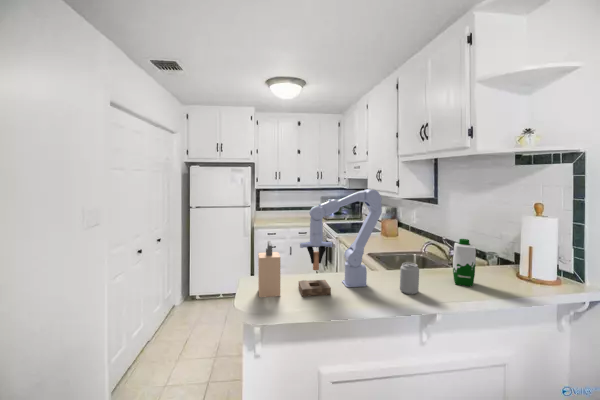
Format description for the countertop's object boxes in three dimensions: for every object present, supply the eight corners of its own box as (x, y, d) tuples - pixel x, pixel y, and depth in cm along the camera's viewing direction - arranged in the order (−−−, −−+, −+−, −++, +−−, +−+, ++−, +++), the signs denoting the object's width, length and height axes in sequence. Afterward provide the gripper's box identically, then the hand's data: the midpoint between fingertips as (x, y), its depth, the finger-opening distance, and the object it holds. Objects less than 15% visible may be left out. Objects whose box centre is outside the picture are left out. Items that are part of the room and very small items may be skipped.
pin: (318, 268, 137) (318, 251, 136) (319, 270, 134) (319, 252, 133) (312, 268, 136) (312, 251, 136) (313, 270, 133) (313, 252, 133)
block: (325, 286, 133) (325, 279, 133) (330, 295, 123) (330, 288, 123) (298, 287, 131) (298, 281, 131) (302, 296, 121) (302, 289, 121)
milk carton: (472, 281, 140) (474, 239, 139) (475, 288, 132) (477, 243, 130) (451, 279, 144) (453, 237, 142) (453, 285, 135) (455, 241, 134)
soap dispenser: (258, 289, 129) (258, 239, 127) (278, 288, 130) (278, 238, 129) (259, 301, 116) (259, 246, 115) (281, 300, 118) (281, 245, 116)
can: (409, 296, 122) (410, 267, 121) (395, 290, 129) (396, 263, 128) (422, 293, 126) (423, 265, 125) (408, 287, 132) (409, 260, 132)
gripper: (330, 231, 139) (329, 259, 140) (299, 231, 137) (298, 260, 138) (333, 234, 132) (333, 264, 133) (301, 234, 130) (301, 265, 131)
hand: (316, 262), depth 135 cm, fingers closed on pin, 3 cm apart
